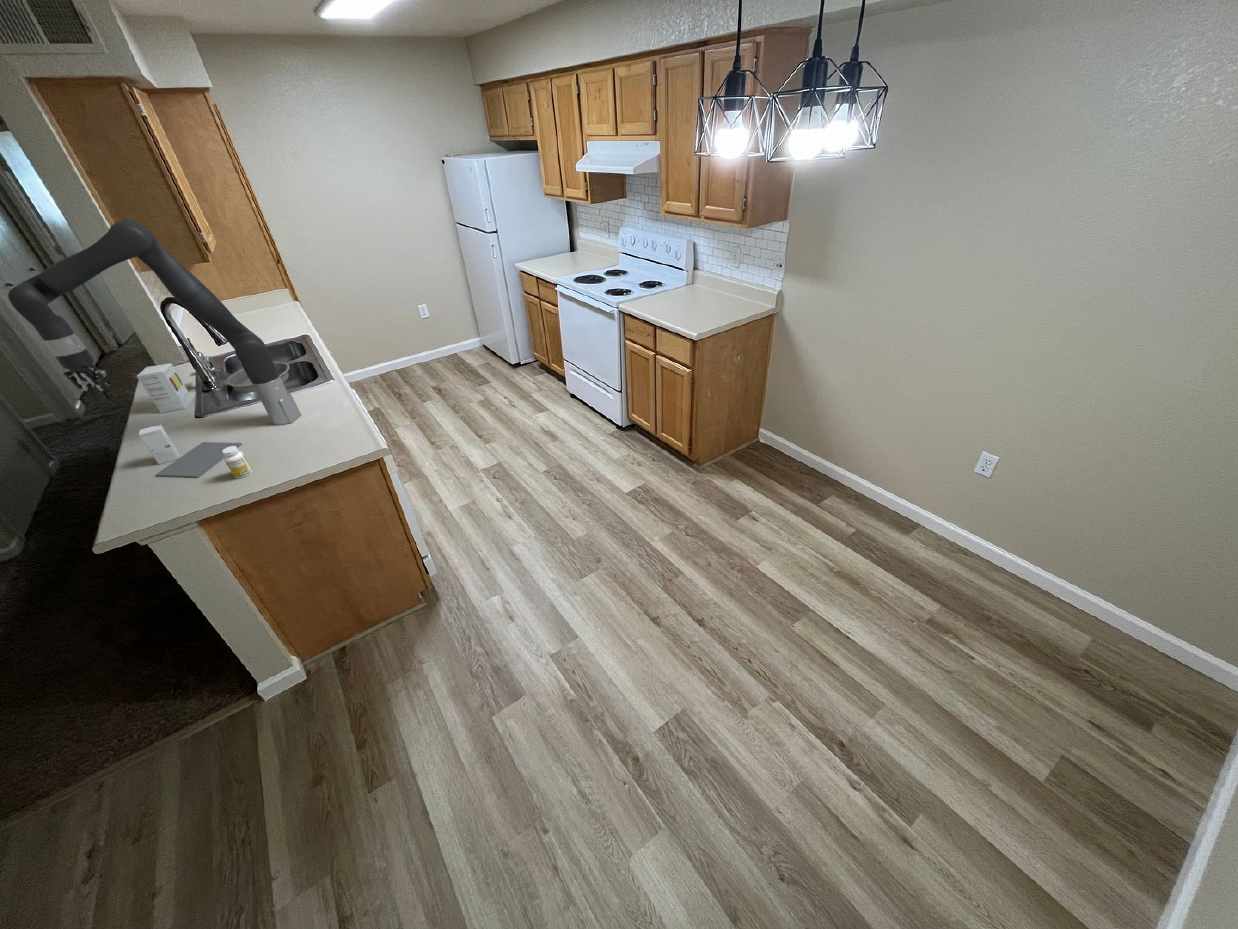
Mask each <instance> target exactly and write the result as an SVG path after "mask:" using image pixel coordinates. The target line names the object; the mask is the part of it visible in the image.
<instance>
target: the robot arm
mask: <svg viewBox="0 0 1238 929" xmlns="http://www.w3.org/2000/svg"><path fill="white" fill-rule="evenodd" d="M136 257H137V258H138V259H139V260H140V261H142V262H143V264H145V265H146V266H147V267H148V268H149V269H151V270H152V272H153V273H154V274H155V275H156V276H157V278H158V279H159V280H160V282H161V283H162V284H163V286H164V287H165V288H166V290H167V291H168V292H169V294H171V296H172V297H173V298H174V299H175V300H176V301H177V302H178V303H180V305H182V306H183V307H184V309H186V310H187V311H188V312H189V313H190V314H192V315H193V316H194V317H195V318H197V319H198V320H200V321H201V322H203V323H204V324H206V325H208V326H209V327H210V328H212V329H213V330H215V331H217V333H219V334H220V335H221V336H222V337H223V338H224V339H225V340H226V341H227V342H228V344H230V346H231V347H232V348H233V349H234V352H235V355H236V357H237V359H238V361H239V363H240V365H241V367H242V369H244V370H245V372H246V374H247V376H248V377H249V379H250V381H251V383H252V384H253V386H254V388H255V390H256V392H255V393H256V394H257V395H258V398H259V399H260V400H259V401H261V403H262V405H263V407H264V409H265V411H266V413H267V414H268V417H269V418H270V420H271V422H272V424H273V425H276V426H281V425H287V424H292V423H293V422H295V421H296V420H298V418H300V417H301V416H302V414H301V411H300V410H299V409H300V408H299V406H297V403H296V401H295V399H294V397H293V394H292V393H289V391H288V389H287V388H286V385H285V384H284V382H283V381H282V379H281V377H280V372H278V371H277V369H276V367H275V365H274V363H273V362H274V361H273V359H272V356H271V354H270V353H269V351H268V349H267V346H266V344H265V342H264V341H263V340H262V339H261V337H259V336H258V335H256V334H255V333H254V332H253V331H251V330H250V329H249V328H248V327H246V326H245V325H244V324H243V323H241V321H239V320H238V319H237V318H236V317H235V316H234V315H233V313H232V312H231V311H230V310H229V309H228V308H227V306H225V305H224V303H223V302H222V301H221V300H220V299H219V298H218V297H217V296H216V295H215V294H214V293H213V292H212V291H211V290H210V289H209V288H208V287H207V286H206V285H205V284H204V283H202V282H201V280H199V279H198V278H197V277H196V276H195V275H194V274H193V273H192V272H191V271H189V269H187V268H186V267H185V266H184V265H182V263H180V262H179V261H178V260H177V259H176V258H174V256H172V255H171V253H170V252H169V251H168V250H167V249H166V248H165V246H164V245H163V244H162V243H161V242H160V241H159V240H158V239H157V237H156V236H155V235H154V234H153V233H152V231H150V229H148V228H147V227H146V226H145V225H144V224H142V223H141V222H138V221H136V220H133V219H129V218H123V219H118V220H117V221H115V222H114V223H113V224H112V225H111V226H110V227H109V229H108V231H107V232H106V233H105V234H103V236H102V237H101V238H99V239H98V240H97V241H96V242H94V243H93V244H92V245H90V246H88V247H86V248H85V249H83V250H81V251H79V252H78V251H77V252H76V253H73V254H72V255H69V256H67V257H64V258H63V259H61V260H59V261H57V262H55V263H53V264H52V265H50V266H49V267H46V268H45V269H43V270H42V271H41V272H40V273H38V274H37V275H35V276H32V277H29V278H28V279H26V280H24V281H22V282H20V283H19V284H17V285H15V286H14V287H12V288H11V289H10V290H9V291H8V293H7V295H8V296H7V297H8V301H9V302H10V304H11V305H12V307H13V309H15V311H17V312H18V313H19V314H20V316H22V318H24V319H25V320H26V321H27V322H28V323H29V324H31V326H32V327H33V328H34V329H35V330H36V333H38V334H39V336H40V338H42V340H43V341H44V343H45V344H46V346H47V348H48V350H49V352H51V354H52V355H53V356H54V358H55V359H56V360H57V362H58V363H59V365H60V366H61V367H62V368H63V369H65V370H67V371H64V372H63V376H65V377H66V378H67V380H69V381H70V382H71V383H72V384H73V385H74V386H75V387H76V388H77V389H79V390H81V389H82V390H83V391H84V392H87V394H88V395H89V396H90V398H91V399H92V400H93V401H94V402H97V401H100V400H102V399H103V397H104V399H105V400H106V401H107V402H111V401H113V400H115V399H116V397H115V395H114V393H113V392H112V391H111V389H110V388H112V387H113V386H114V383H113V382H112V379H111V377H110V374H109V372H108V371H107V370H106V369H102V370H100V369H98V368H97V367H96V366H95V365H94V364H93V362H94V361H95V359H94V357H93V356H92V354H91V353H90V352H89V350H88V349H87V347H86V346H85V344H84V343H83V341H82V340H81V339H80V338H79V337H78V335H77V334H76V333H75V332H74V331H73V329H72V328H71V326H70V325H69V323H68V322H67V320H66V319H64V317H62V316H61V315H58V314H56V313H55V312H54V311H53V310H52V308H51V307H49V304H50V303H52V302H53V301H55V300H56V299H58V298H59V297H61V296H62V295H64V294H67V293H70V292H72V291H74V290H75V289H77V288H78V287H81V286H82V285H83V284H85V283H87V282H89V281H90V280H92V279H93V278H95V277H96V276H98V275H99V274H101V273H103V272H104V271H106V270H107V269H109V268H111V267H114V266H116V265H117V264H120V263H122V262H125V261H127V260H131V259H133V258H136ZM97 389H98V390H99V391H100V393H99V391H98V390H97ZM101 394H102V395H101ZM102 396H103V397H102Z"/></svg>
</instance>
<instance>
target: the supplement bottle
mask: <svg viewBox="0 0 1238 929" xmlns="http://www.w3.org/2000/svg"><path fill="white" fill-rule="evenodd" d="M222 452H223V454H224V456H225V457H224V459H223V461H224V462H225V464H226V466H227V467H228V469H229V470H230V473H231V474H232V476H234V478H236V479H241V478H245V477H248V476H250V475H251V474H252V473H253V471H254V470H253V467H252V466H251V464H250V463H249V461H248V459H247V457H246V456H245V454H244V453H243V452H242V451H240V450H239V448H237V447H236V446H230V447H227V448H225V449H224V450H223V451H222Z"/></svg>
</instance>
